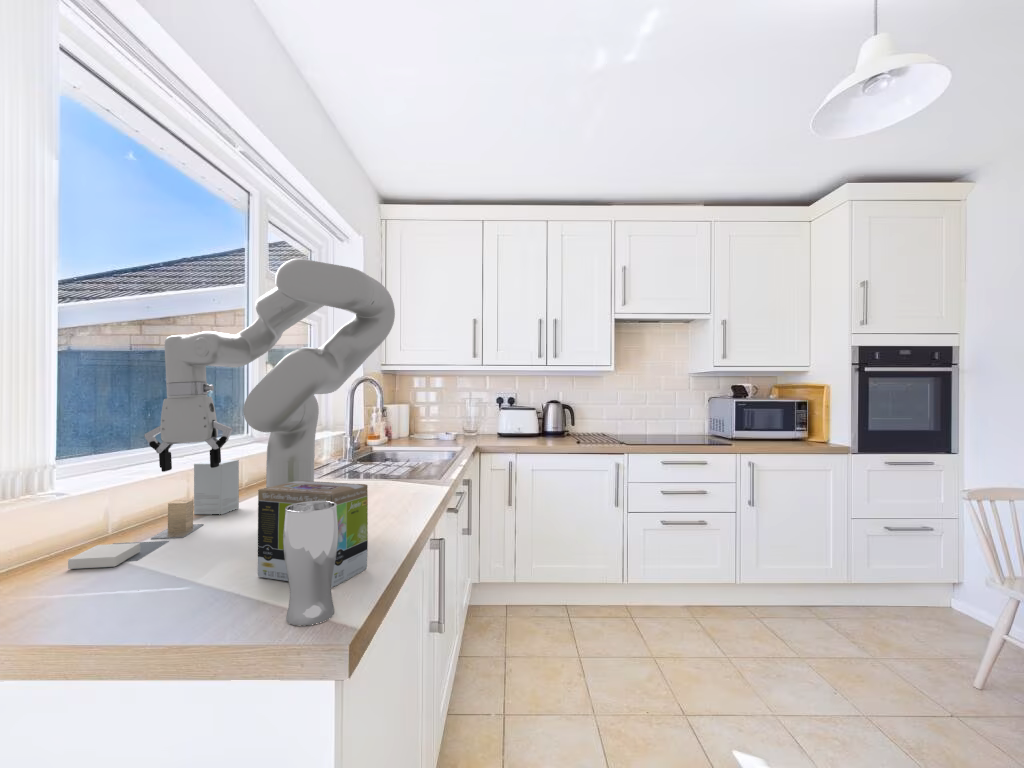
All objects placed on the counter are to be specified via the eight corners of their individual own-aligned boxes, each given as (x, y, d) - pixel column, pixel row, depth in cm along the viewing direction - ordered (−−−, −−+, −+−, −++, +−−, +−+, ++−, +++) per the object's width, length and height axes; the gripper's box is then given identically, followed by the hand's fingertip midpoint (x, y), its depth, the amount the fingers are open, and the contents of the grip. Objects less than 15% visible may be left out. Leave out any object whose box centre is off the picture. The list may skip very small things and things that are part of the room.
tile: (97, 545, 93) (68, 559, 85) (140, 543, 94) (115, 557, 86) (97, 554, 93) (67, 570, 85) (140, 552, 94) (114, 567, 86)
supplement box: (239, 508, 131) (240, 459, 131) (220, 515, 124) (221, 463, 124) (213, 507, 132) (213, 459, 132) (192, 514, 124) (193, 463, 125)
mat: (169, 542, 102) (169, 540, 102) (137, 562, 90) (137, 560, 90) (113, 544, 100) (113, 543, 100) (73, 565, 88) (73, 563, 88)
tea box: (369, 569, 87) (370, 483, 88) (330, 590, 78) (331, 494, 78) (299, 559, 92) (299, 477, 92) (254, 578, 83) (255, 487, 83)
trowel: (183, 540, 104) (183, 507, 104) (150, 542, 103) (151, 508, 103) (203, 527, 114) (203, 497, 114) (174, 528, 113) (174, 497, 113)
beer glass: (284, 632, 64) (285, 514, 64) (281, 611, 70) (281, 503, 71) (341, 621, 67) (342, 508, 68) (333, 601, 74) (334, 498, 74)
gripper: (235, 389, 117) (239, 463, 117) (152, 393, 114) (156, 470, 114) (223, 388, 110) (227, 467, 110) (134, 393, 107) (138, 474, 106)
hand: (191, 468), depth 112 cm, fingers open, 9 cm apart
